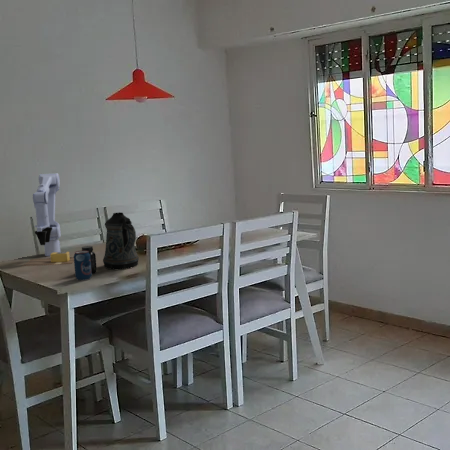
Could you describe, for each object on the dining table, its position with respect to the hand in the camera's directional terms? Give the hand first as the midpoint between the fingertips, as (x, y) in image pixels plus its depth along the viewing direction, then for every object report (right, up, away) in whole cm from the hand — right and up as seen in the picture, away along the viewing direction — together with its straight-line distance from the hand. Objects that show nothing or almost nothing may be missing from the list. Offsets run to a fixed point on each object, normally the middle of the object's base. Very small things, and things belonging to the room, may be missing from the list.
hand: (45, 243), depth 301 cm
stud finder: (+8, -8, -3) cm, 12 cm away
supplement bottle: (+28, -13, -26) cm, 40 cm away
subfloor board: (+4, -10, -2) cm, 10 cm away
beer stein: (+42, -10, -15) cm, 45 cm away
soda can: (+28, -14, -37) cm, 48 cm away
